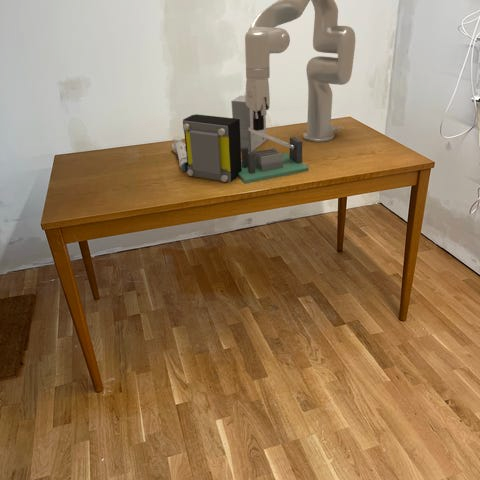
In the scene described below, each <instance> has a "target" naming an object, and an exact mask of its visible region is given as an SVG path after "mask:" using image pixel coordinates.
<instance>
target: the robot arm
mask: <svg viewBox="0 0 480 480" xmlns="http://www.w3.org/2000/svg"><path fill="white" fill-rule="evenodd" d="M310 1H311V3H312V5H313V10H314V22H313V23H314V24H313V32H312V33H313V36H312V46H313V49H314V50H315V51H316V52H318V53H322V54H323V53H324V54H335V55H337V57H334V56H333V57H332V56H323V55H321V56H318V55H317V56H314V57H311V58H310V59H309V60H308V61H307V63H306V78H307V88H308V91H307V92H308V95H307V121H306V122H307V127H306V128H307V129H306V131H305V132H303V135H302V136H303V138H304V139H305V140H306V141H311V142H319V143H320V142H328V141H331V140H333V139H335V138H334V137H335V134H334V132H335V131H341V130H342V126H341V125H335V124H332V108H333V91H332V88H331V85H337V86H338V85H339V86H340V85H341V86H342V85H346V84H348V83H349V82H350V80H351V78H352V74H353V73H352V72H353V66H354V59H355V58H354V57H355V52H356V51H355V49H356V33H355V31H354V29H353V28H352V27H351V26H348V25H338V19H339V9H338V5H337V3H336V1H335V0H277V1H275V2H273V3H272V4H271V5H269V6H268V7H266V8H265V9H264V10H262V11H261V12H260V13H258V15H257V16H256V17H255V19H254V20H253V22H252V23H251V25H250V27H249V28H248V30H247V32H246V33H245V36H244V44H245V45H244V46H245V48H244V53H245V79H246V81H245V92H246V106H247V107H249V108H250V109H252V114H253V129H254V130H256V131H258V130H263V129H264V115H266V116H267V111H269V110H270V106H271V105H270V103H271V101H270V99H271V98H270V85H269V79H270V72H271V71H270V55H271V54H281V53H283V52H285V51H286V50H288V47H289V45H290V42H291V38H290V37H291V36H290V34H289V32H288V31H287V30H286V29H284V28H282V27H278V26H280V25H284V24H287V23H290V22H292V21H294V20H297V19H299V18H300V17H301V16H302V15H303V13H304V12H305V10H306V8H307V6H308V5H309V3H310ZM254 117H255V118H254Z"/></svg>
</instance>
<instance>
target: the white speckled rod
mask: <svg viewBox="0 0 480 480" xmlns="http://www.w3.org/2000/svg"><path fill="white" fill-rule="evenodd" d="M172 141H173V143H172V144H171V148H172V151H173V153H175V154H177V158H178V165H179V167H180V169H181V171H182V172H187V171H188V168H187V166H188V163H187V154H186V144H185V141H184V140H183V137H182V136H180V135H177V136H174V138H173V140H172Z"/></svg>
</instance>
